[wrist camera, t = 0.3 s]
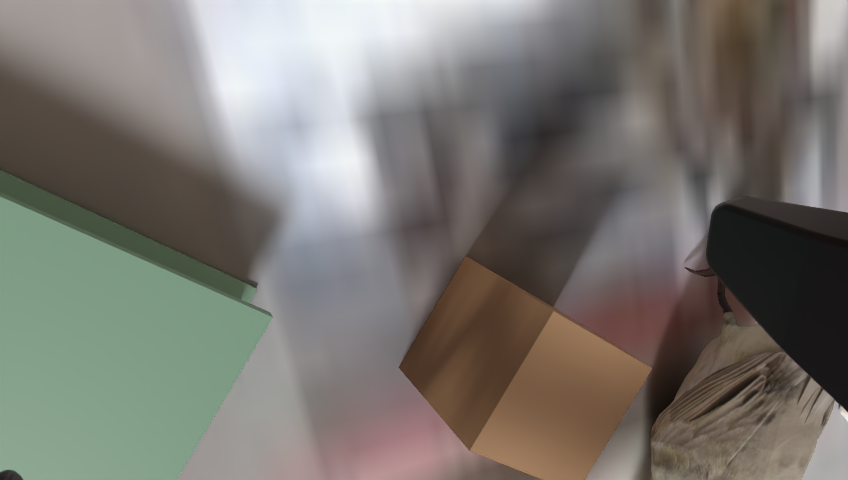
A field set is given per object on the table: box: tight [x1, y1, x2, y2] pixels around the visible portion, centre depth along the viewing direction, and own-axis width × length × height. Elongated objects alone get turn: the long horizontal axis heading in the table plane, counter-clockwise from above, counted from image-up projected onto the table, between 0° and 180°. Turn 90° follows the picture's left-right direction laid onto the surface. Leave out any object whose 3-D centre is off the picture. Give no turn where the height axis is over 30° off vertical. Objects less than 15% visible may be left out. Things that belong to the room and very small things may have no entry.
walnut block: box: [399, 256, 652, 480], centre depth 25 cm, size 5×5×6 cm
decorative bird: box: [651, 267, 835, 480], centre depth 30 cm, size 5×16×8 cm, turn 162°
